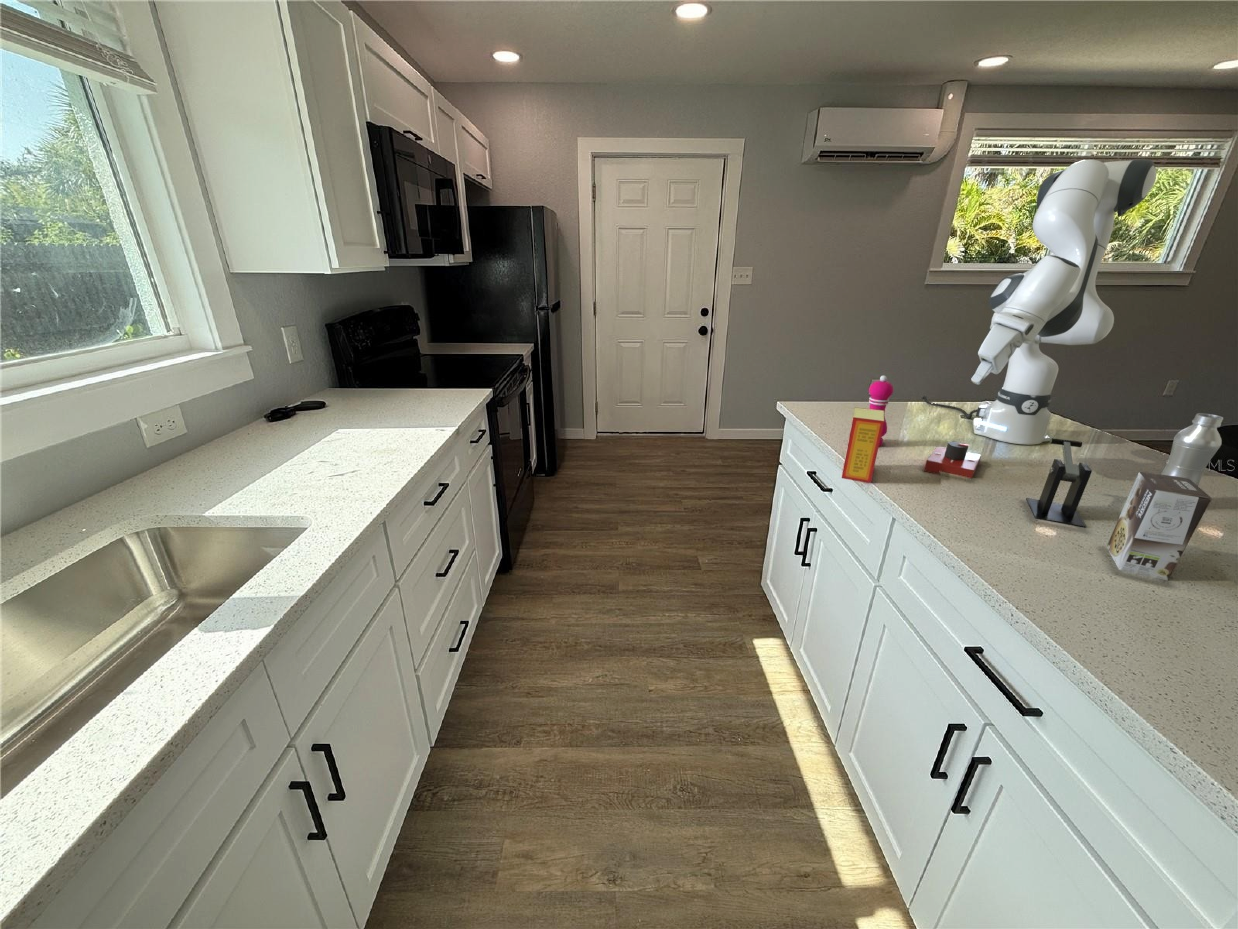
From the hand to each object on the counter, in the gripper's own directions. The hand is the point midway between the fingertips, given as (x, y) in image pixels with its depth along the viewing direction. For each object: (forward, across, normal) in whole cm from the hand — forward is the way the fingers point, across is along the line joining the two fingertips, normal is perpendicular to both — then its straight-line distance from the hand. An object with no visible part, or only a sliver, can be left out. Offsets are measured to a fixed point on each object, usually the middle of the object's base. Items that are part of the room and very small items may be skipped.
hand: (974, 382), depth 116 cm
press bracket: (+18, +5, +28) cm, 34 cm away
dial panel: (+20, -9, +6) cm, 23 cm away
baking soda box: (+31, +9, -8) cm, 34 cm away
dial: (+17, -8, +5) cm, 20 cm away
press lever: (+8, +5, +24) cm, 25 cm away
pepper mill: (+25, -14, -15) cm, 32 cm away
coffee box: (+19, +18, +41) cm, 49 cm away
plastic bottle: (+5, -18, +43) cm, 47 cm away
